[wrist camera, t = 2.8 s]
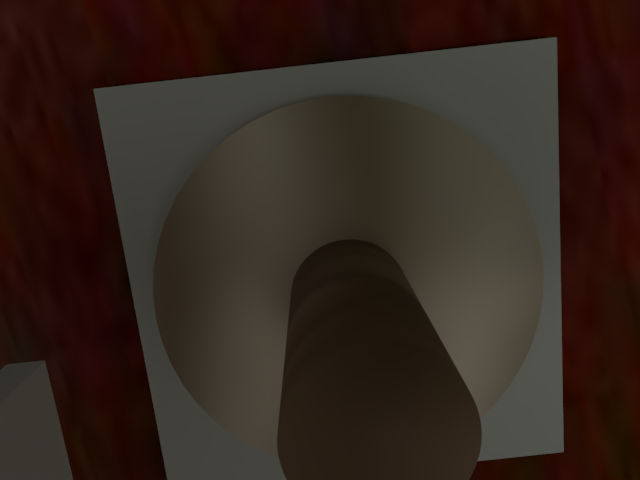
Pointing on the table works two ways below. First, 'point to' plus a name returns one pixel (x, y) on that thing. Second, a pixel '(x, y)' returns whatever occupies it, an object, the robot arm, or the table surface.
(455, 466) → the lid
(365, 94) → the mat
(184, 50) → the table surface
